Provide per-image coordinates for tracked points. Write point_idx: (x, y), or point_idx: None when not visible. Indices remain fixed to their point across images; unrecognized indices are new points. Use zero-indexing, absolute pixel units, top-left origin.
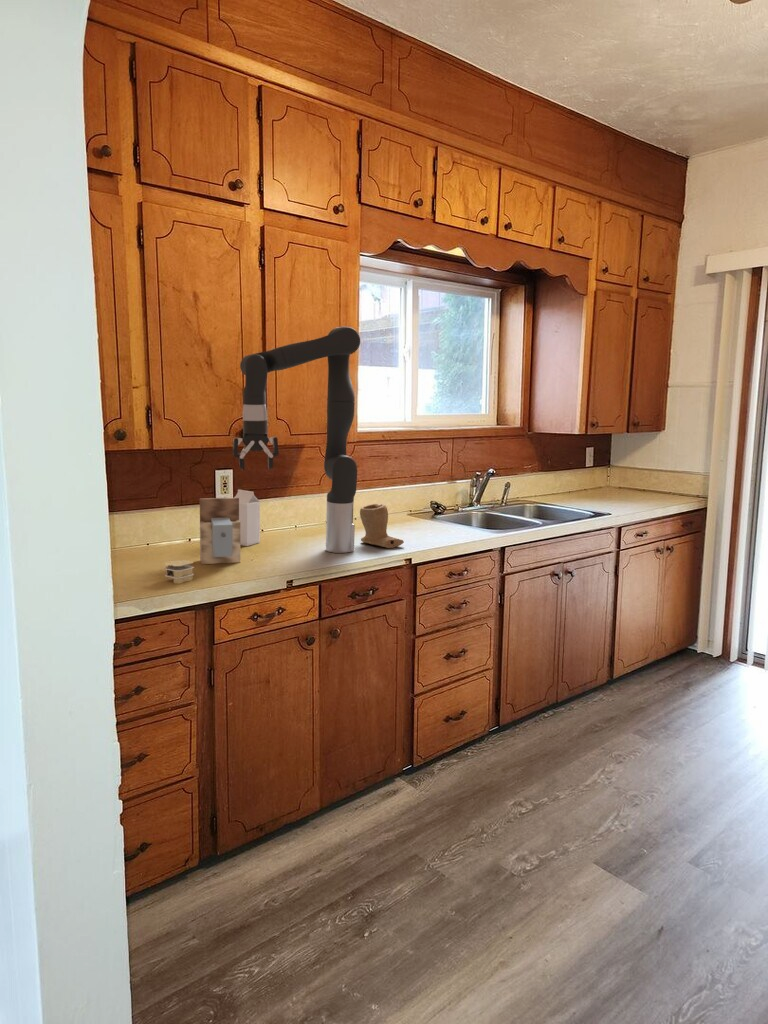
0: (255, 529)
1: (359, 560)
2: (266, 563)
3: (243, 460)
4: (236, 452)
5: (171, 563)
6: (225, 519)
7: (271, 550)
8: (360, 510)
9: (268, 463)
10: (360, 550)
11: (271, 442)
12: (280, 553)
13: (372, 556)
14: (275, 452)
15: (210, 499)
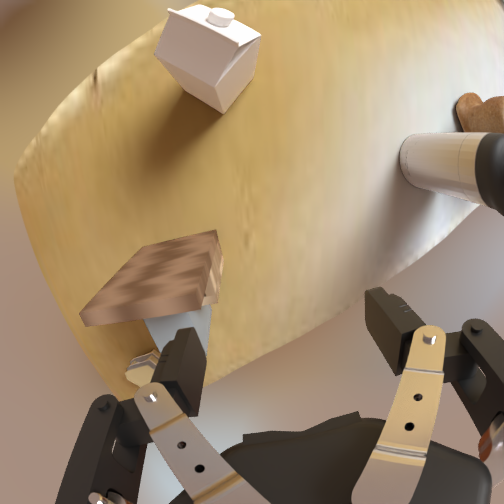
0: (243, 79)
1: (436, 239)
2: (277, 266)
3: (193, 408)
4: (136, 458)
5: (134, 378)
6: (176, 315)
7: (286, 150)
8: (500, 121)
9: (380, 332)
10: None
11: (481, 451)
12: (307, 180)
13: (457, 212)
14: (458, 388)
15: (111, 322)
